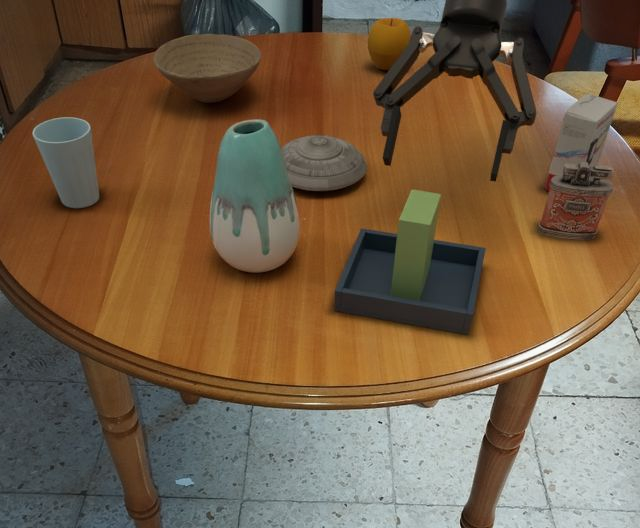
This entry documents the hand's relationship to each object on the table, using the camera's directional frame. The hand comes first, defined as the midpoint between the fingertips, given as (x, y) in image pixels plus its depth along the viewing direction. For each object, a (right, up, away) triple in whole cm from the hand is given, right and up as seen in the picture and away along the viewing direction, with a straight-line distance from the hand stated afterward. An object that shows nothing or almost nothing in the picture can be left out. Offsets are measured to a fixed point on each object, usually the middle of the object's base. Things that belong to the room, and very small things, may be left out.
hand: (439, 170), depth 85 cm
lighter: (+20, -5, +11) cm, 23 cm away
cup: (-51, +1, +15) cm, 53 cm away
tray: (-3, -15, +1) cm, 15 cm away
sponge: (-4, -14, +1) cm, 15 cm away
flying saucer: (-15, +7, +21) cm, 27 cm away
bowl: (-35, +28, +39) cm, 59 cm away
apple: (-2, +38, +49) cm, 62 cm away
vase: (-23, -10, +6) cm, 26 cm away
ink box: (+24, +5, +20) cm, 31 cm away
